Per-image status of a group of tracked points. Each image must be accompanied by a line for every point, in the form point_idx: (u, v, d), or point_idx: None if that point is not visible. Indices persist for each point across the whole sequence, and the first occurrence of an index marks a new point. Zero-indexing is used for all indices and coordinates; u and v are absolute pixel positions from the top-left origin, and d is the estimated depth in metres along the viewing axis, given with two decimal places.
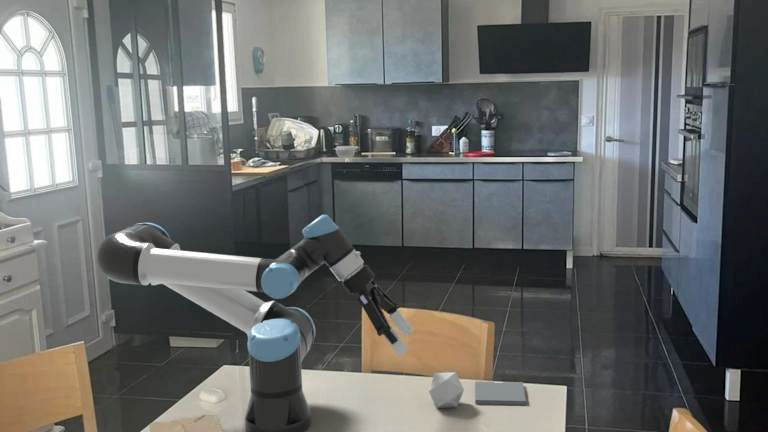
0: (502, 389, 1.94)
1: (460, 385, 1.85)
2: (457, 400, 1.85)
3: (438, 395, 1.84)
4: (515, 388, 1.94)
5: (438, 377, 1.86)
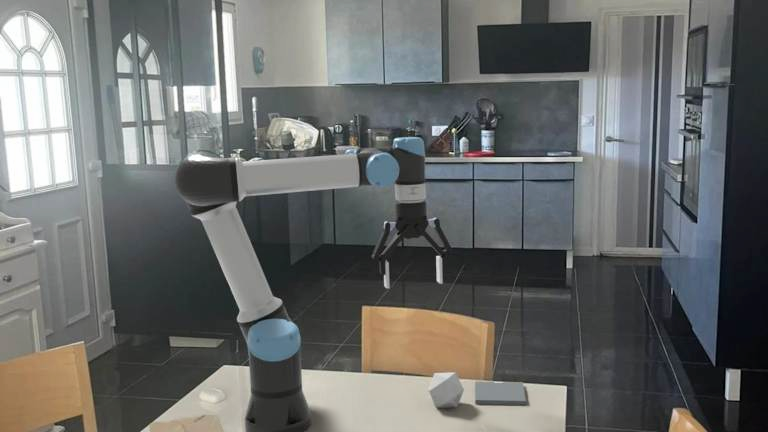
0: (502, 389, 1.94)
1: (460, 385, 1.85)
2: (457, 400, 1.85)
3: (438, 395, 1.84)
4: (515, 388, 1.94)
5: (438, 377, 1.86)
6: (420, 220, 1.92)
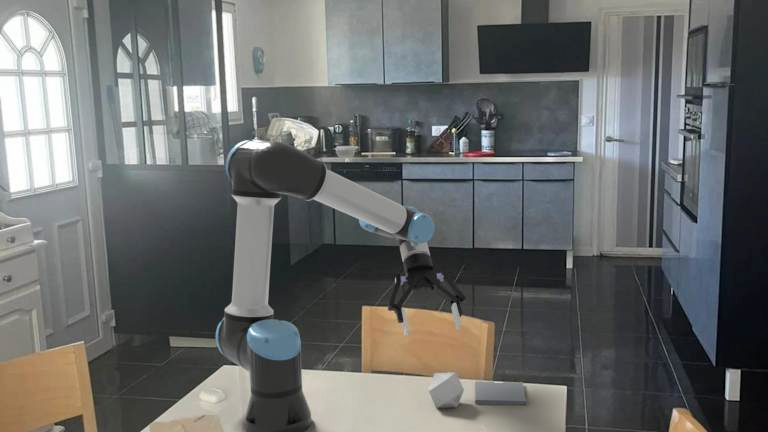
0: (502, 389, 1.94)
1: (460, 385, 1.85)
2: (457, 400, 1.85)
3: (438, 395, 1.84)
4: (515, 388, 1.94)
5: (438, 377, 1.86)
6: (428, 272, 2.04)
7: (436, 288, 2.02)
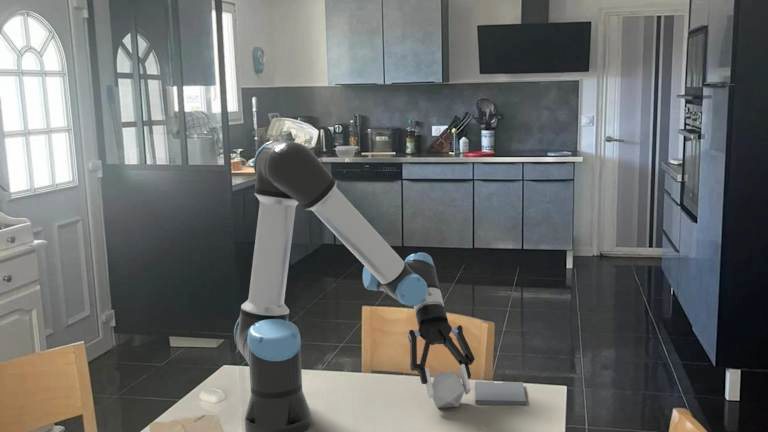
0: (502, 389, 1.94)
1: (461, 385, 1.85)
2: (458, 400, 1.85)
3: (439, 395, 1.84)
4: (515, 388, 1.94)
5: (439, 377, 1.86)
6: (443, 323, 1.94)
7: (447, 343, 1.91)
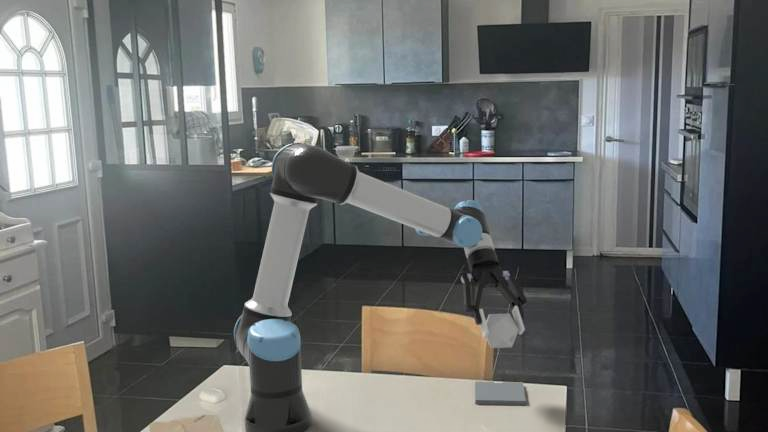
0: (502, 389, 1.94)
1: (515, 325, 1.89)
2: (512, 340, 1.89)
3: (494, 335, 1.87)
4: (515, 388, 1.94)
5: (493, 318, 1.89)
6: (495, 267, 1.97)
7: (500, 286, 1.94)
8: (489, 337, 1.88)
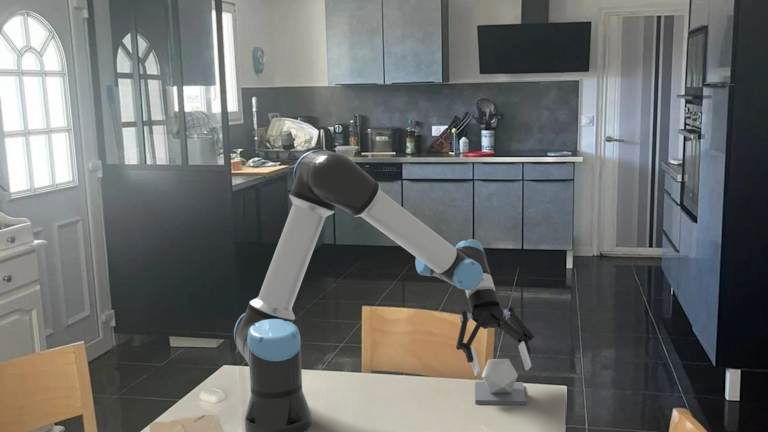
0: None
1: (514, 371, 1.91)
2: (511, 385, 1.90)
3: (493, 380, 1.89)
4: (515, 388, 1.94)
5: (492, 363, 1.91)
6: (494, 308, 1.99)
7: (503, 325, 1.97)
8: (488, 383, 1.90)
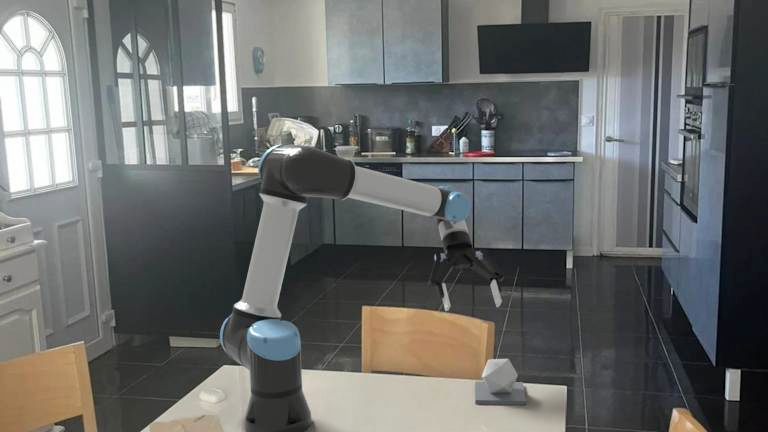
0: None
1: (514, 371, 1.91)
2: (511, 385, 1.90)
3: (493, 380, 1.89)
4: (515, 388, 1.94)
5: (492, 363, 1.91)
6: (467, 249, 2.06)
7: (475, 265, 2.04)
8: (488, 383, 1.90)
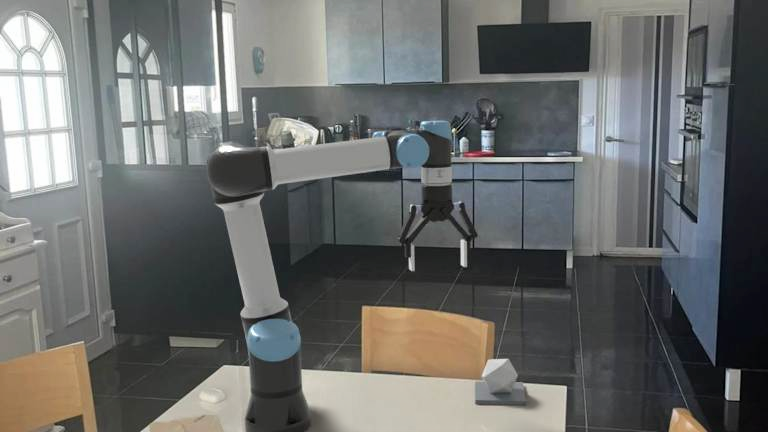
0: None
1: (514, 371, 1.91)
2: (511, 385, 1.90)
3: (493, 380, 1.89)
4: (515, 388, 1.94)
5: (492, 363, 1.91)
6: (446, 203, 1.93)
7: (450, 222, 1.94)
8: (488, 383, 1.90)
